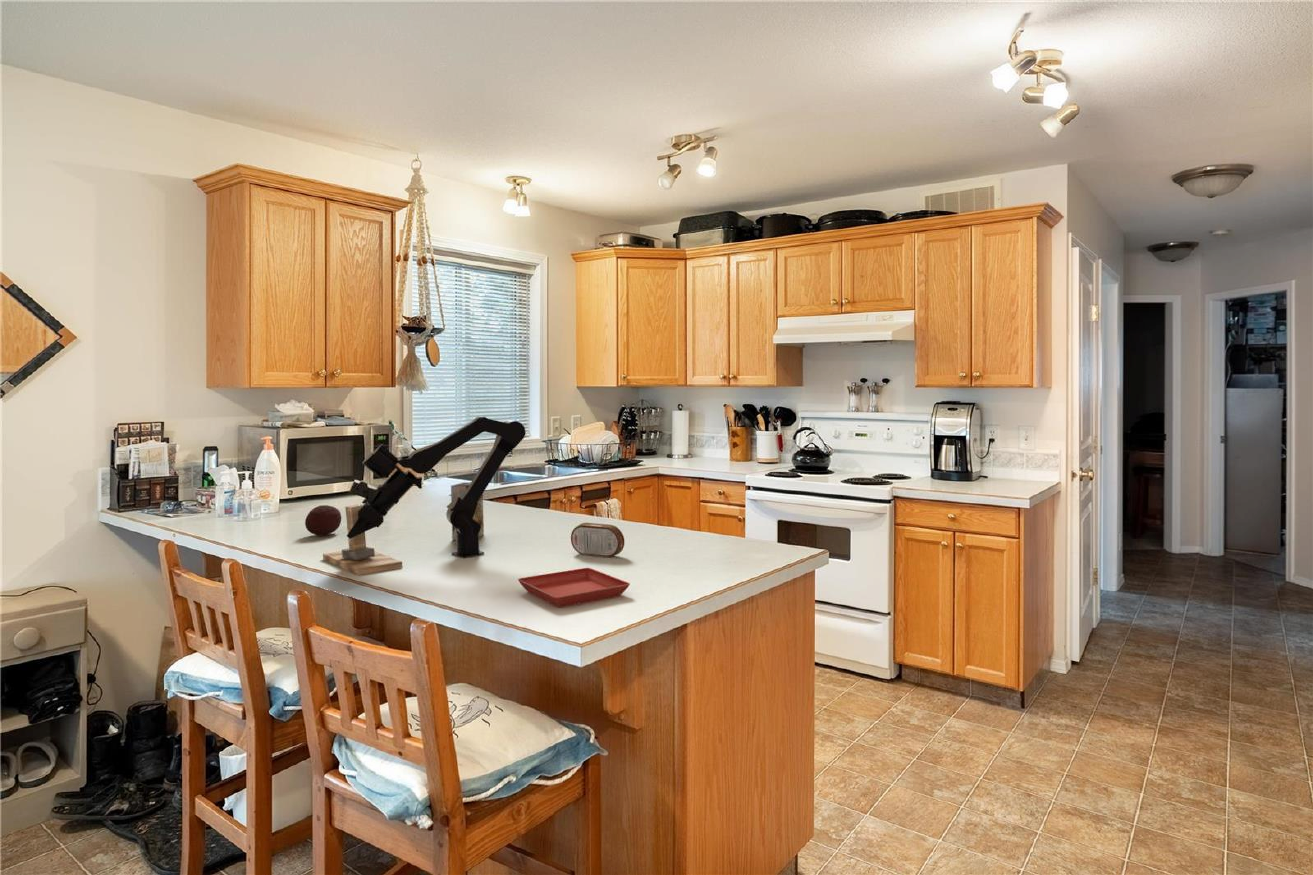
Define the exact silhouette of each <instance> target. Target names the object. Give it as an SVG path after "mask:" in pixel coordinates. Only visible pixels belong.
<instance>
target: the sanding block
mask: <svg viewBox="0 0 1313 875" xmlns="http://www.w3.org/2000/svg"><path fill="white" fill-rule="evenodd" d="M361 505H362V504H354V505H348V506H345V508H344V509H345V518H346V519H345V520H346V527H347V528H346V530H347V534H348V533H349V531H350V530H351V529H352V527H353V526H354V524H355V523H356V521H357V520H358V510H359V509H360V508H361V507H362V506H363V505H362V506H361ZM347 538H348V537H347ZM347 540H348V547H347V548H344V549H341V551H342V557H343V558H347V559H351V560H356V561H357V560H361V559H365V558H370V557H374V556H375V553H374V551H375V548H372V547H369V546H367V541H366V531H365V532H363V533H361V534H359V535H357V536H355V537H352V538H348V539H347Z"/></svg>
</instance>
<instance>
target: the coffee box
mask: <svg viewBox="0 0 1313 875" xmlns="http://www.w3.org/2000/svg"><path fill="white" fill-rule="evenodd" d="M471 482H472V481H469V482H460V483H457V484H453V485H450V492H451V494H450V498H451V499H450V500H451V501H452V499H453V497H454V495H455V494H456V495H457V496H458V497H460V496H461V495H462V494H463V493H464V492H465V491H466V489H467V488H468V486H469V485H470V483H471ZM451 501H450V502H451ZM473 519H474V520H475V521H476V522H477V523H478V524H480V525H481V529H480V532H479V533H478V534H479V538H480V537H482V536H484V534H485V524H484V493H483V494H482V496H481V497H480V499H479V501H478V505H477V508H476V512H475V514H474V517H473ZM456 531H458V530H456V529H455V527H454V526H453V525H452V524H451V540H453V541H456Z"/></svg>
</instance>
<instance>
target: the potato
mask: <svg viewBox="0 0 1313 875" xmlns="http://www.w3.org/2000/svg"><path fill="white" fill-rule="evenodd" d="M341 523H342V513H341V511H340V510H339V509H338V508H336V507H335V506H332V505H328V504H327V505H326V504H325V505H318V506H315V507H314V508H312V509H311V510H310V511H309V512H308V514H307V515H306V518H305V521H304V525H305V528H306V530H307V531H308V532H309V533H310V534H312V535H315V536H319V537H320V536H327V535H330V534H332V533H334V532H336V531H337V530H338V529H339V527H340V526H341Z"/></svg>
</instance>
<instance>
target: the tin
mask: <svg viewBox="0 0 1313 875" xmlns="http://www.w3.org/2000/svg"><path fill="white" fill-rule="evenodd" d="M570 542H571V543H570V544H571V546H572V547H573V549H574V550H575V552H577V553H578V554H580V555H583V556H590V557H591V556H593V557H601V558H602V557H603V558H612V557H615V556H617V555H619V554H620V553H622V551H624V550H623V549H624V547H625V543H626V542H625V536H624V535H623V532H622V530H621V529H619V527H617V526H616V525H613V524H605V523H597V522H596V523H594V522H583V523H580V524H578V525H577V526H575V527H574V528H573V530H572V531H571V534H570Z"/></svg>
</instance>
